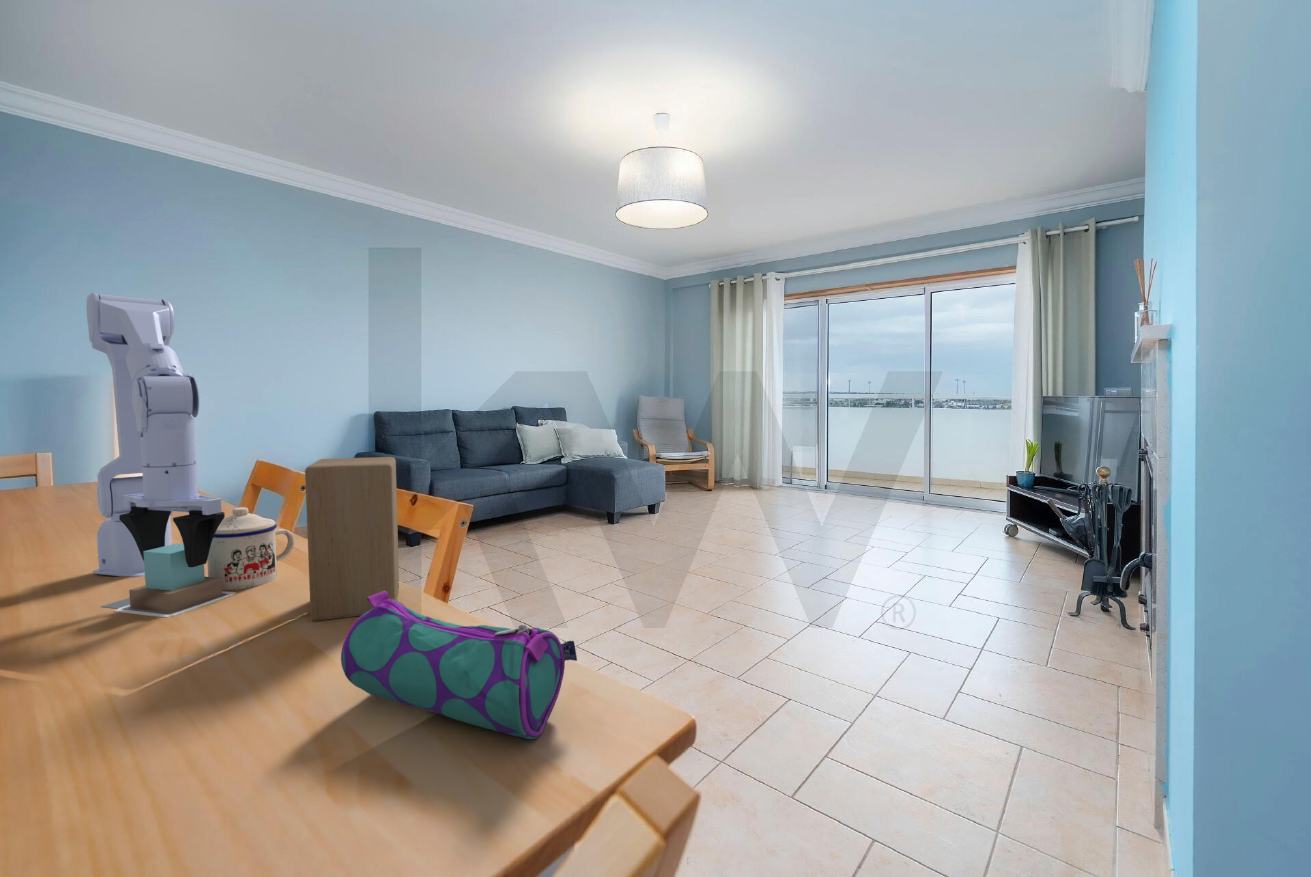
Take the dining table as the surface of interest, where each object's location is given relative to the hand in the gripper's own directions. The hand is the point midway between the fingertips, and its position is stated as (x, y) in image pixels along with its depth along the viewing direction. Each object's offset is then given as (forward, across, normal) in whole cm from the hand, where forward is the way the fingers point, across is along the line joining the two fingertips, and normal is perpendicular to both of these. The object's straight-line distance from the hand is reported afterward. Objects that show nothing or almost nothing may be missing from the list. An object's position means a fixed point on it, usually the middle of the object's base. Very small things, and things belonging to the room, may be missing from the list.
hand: (175, 563), depth 81 cm
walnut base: (+5, 0, 0) cm, 5 cm away
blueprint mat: (+6, -2, 0) cm, 6 cm away
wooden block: (+6, +24, +6) cm, 26 cm away
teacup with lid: (+6, +1, +11) cm, 12 cm away
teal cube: (+3, 0, 0) cm, 3 cm away
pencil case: (+6, +52, -15) cm, 55 cm away
